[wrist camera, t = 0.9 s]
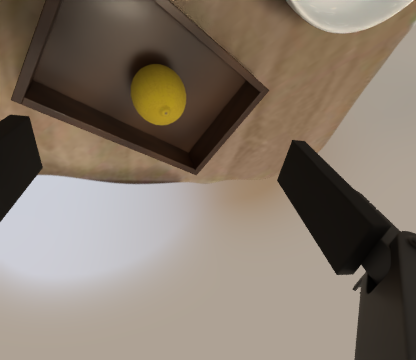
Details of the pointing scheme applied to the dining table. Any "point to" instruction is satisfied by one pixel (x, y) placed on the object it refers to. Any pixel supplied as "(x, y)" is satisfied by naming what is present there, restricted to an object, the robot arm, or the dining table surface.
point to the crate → (126, 70)
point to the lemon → (158, 94)
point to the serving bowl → (346, 13)
